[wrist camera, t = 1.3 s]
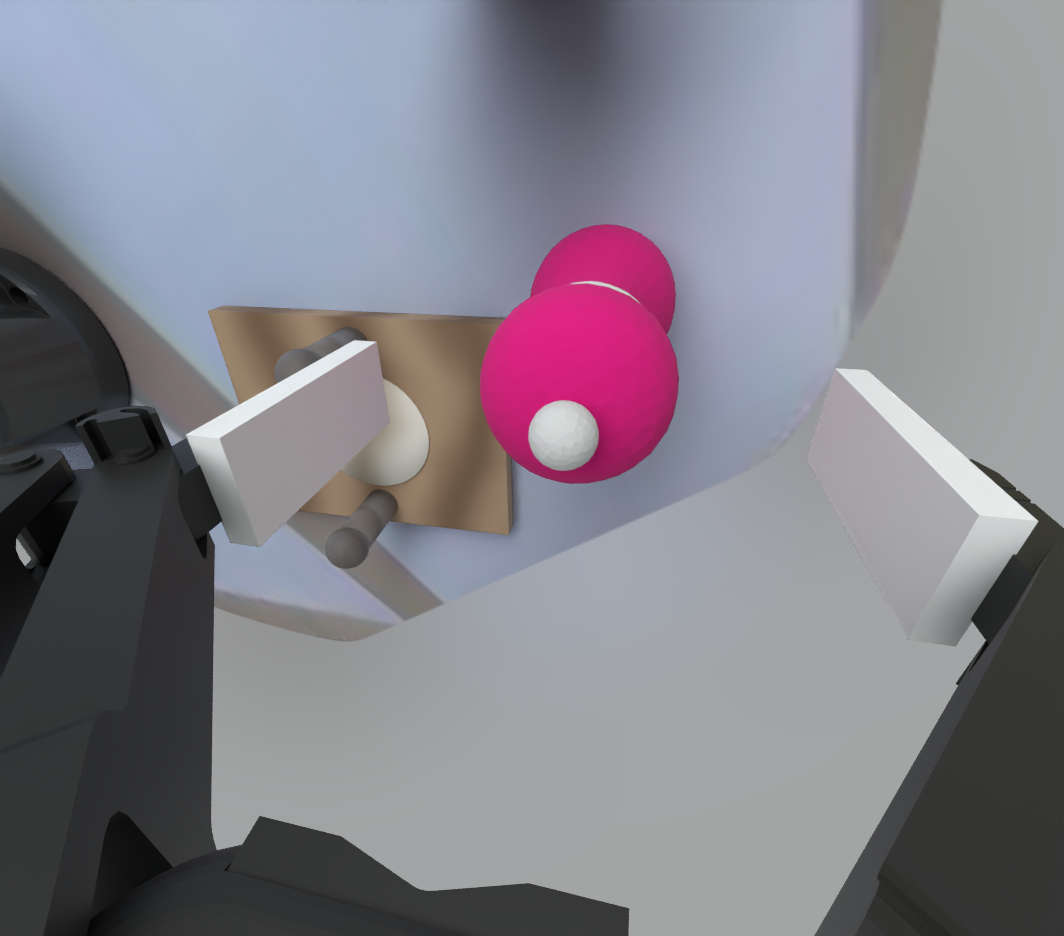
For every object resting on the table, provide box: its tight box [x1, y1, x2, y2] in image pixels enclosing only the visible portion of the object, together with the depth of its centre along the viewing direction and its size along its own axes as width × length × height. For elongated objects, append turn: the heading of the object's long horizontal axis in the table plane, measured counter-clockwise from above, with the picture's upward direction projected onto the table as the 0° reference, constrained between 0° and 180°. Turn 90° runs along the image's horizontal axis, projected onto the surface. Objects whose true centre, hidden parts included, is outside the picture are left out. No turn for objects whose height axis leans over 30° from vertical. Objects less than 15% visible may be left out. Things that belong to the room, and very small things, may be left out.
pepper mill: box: [480, 224, 679, 484], centre depth 20 cm, size 7×7×20 cm
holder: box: [208, 306, 513, 569], centre depth 33 cm, size 20×16×8 cm
